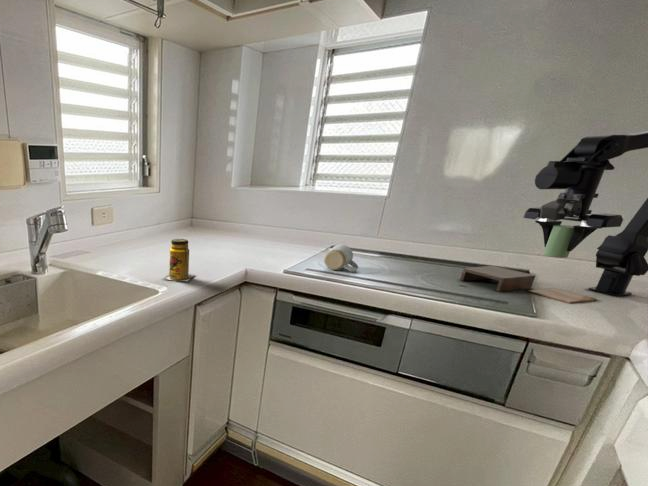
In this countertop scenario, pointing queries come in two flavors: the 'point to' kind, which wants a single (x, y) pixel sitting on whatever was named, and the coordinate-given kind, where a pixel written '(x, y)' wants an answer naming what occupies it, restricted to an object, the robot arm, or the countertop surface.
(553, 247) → the spice tin
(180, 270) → the condiment
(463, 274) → the shelf
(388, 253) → the countertop surface
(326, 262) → the ceramic mug
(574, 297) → the cork pad
